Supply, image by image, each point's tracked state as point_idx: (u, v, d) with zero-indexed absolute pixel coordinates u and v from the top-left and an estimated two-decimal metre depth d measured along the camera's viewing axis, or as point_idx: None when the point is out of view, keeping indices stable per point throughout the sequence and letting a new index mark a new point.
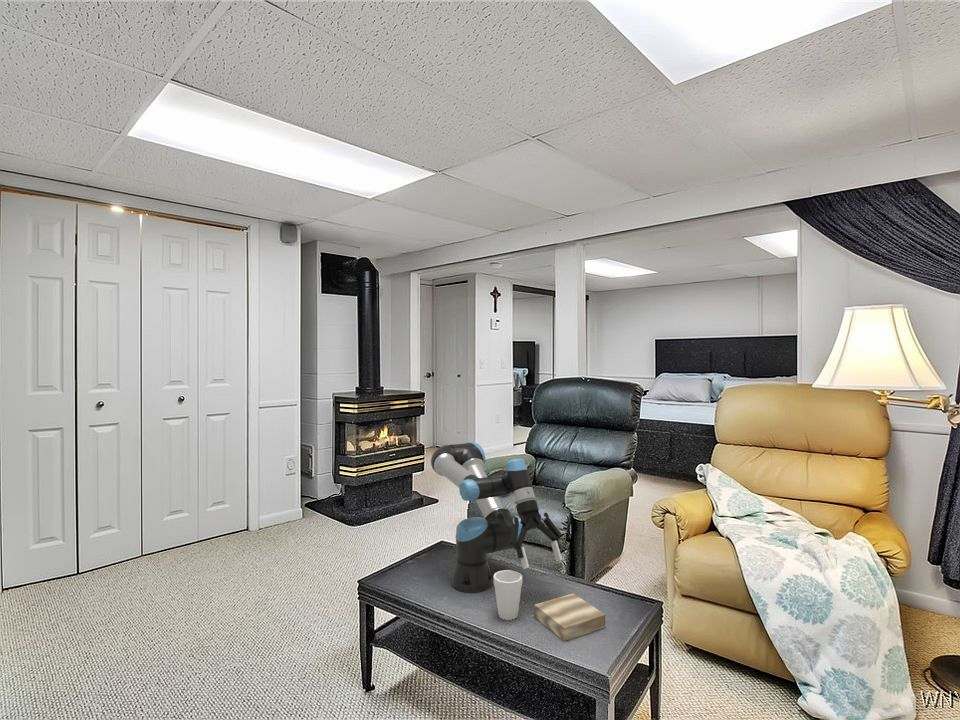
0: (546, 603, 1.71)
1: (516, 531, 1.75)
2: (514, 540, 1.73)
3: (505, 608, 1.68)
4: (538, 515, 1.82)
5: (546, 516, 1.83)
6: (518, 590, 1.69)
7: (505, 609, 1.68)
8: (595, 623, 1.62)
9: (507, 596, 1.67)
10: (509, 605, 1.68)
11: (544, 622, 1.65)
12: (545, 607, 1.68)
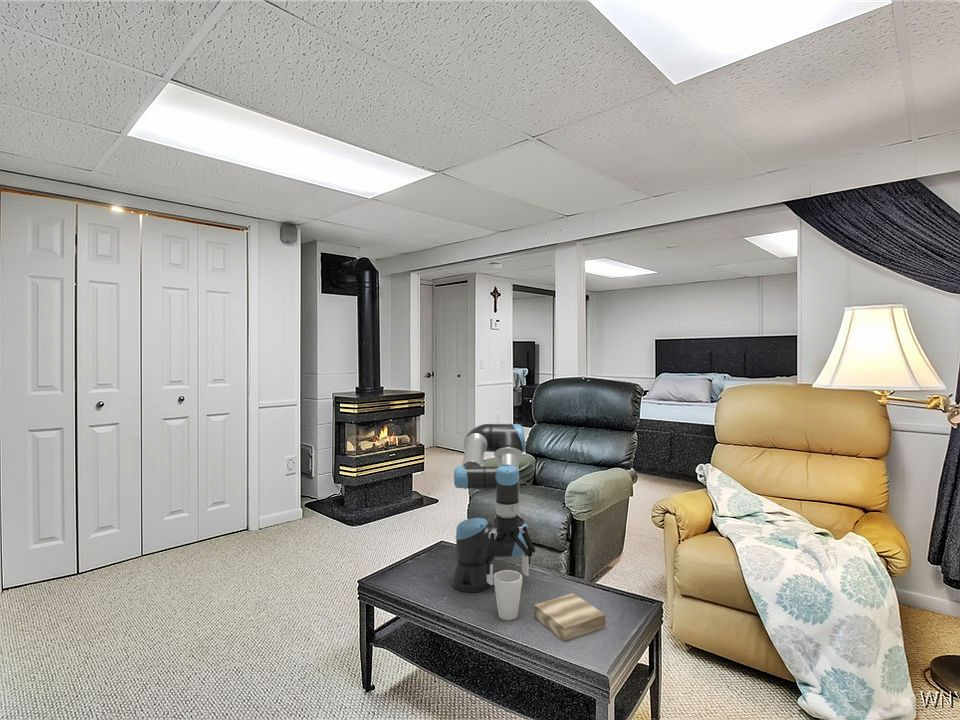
0: (546, 603, 1.71)
1: (489, 548, 1.66)
2: (484, 558, 1.65)
3: (505, 608, 1.68)
4: (517, 530, 1.71)
5: (525, 531, 1.72)
6: (518, 590, 1.69)
7: (505, 609, 1.68)
8: (595, 623, 1.62)
9: (507, 596, 1.67)
10: (509, 605, 1.68)
11: (544, 622, 1.65)
12: (545, 607, 1.68)
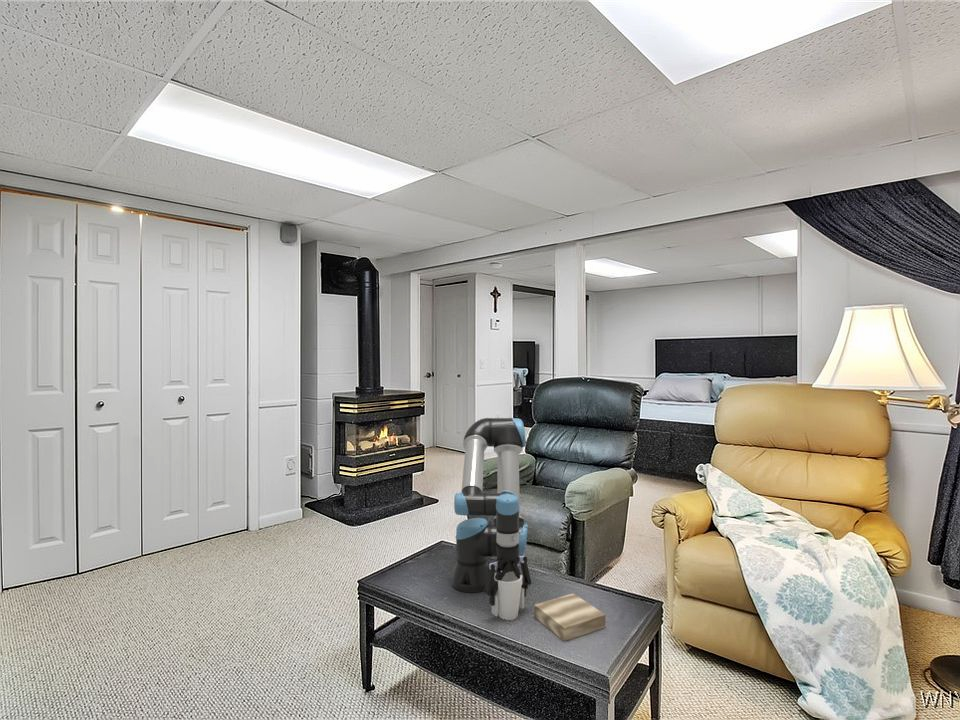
0: (546, 603, 1.71)
1: (491, 580, 1.67)
2: (489, 590, 1.67)
3: (505, 608, 1.68)
4: (517, 558, 1.71)
5: (525, 561, 1.73)
6: (518, 590, 1.68)
7: (505, 609, 1.68)
8: (595, 623, 1.62)
9: (507, 596, 1.67)
10: (509, 605, 1.68)
11: (544, 622, 1.65)
12: (545, 607, 1.68)
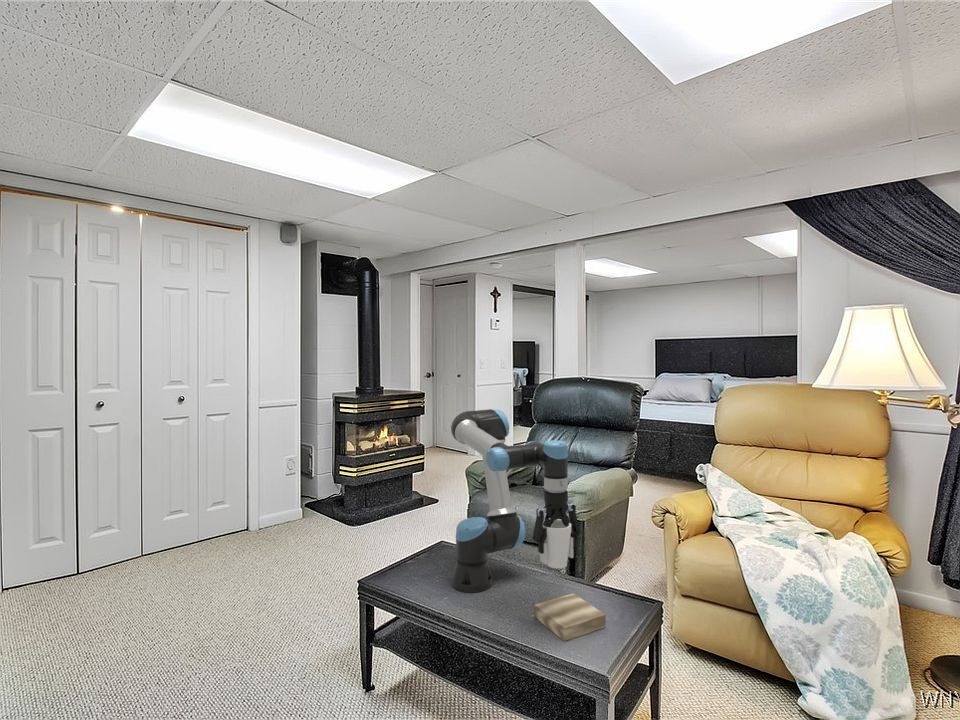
0: (546, 603, 1.71)
1: (540, 526, 1.62)
2: (538, 536, 1.62)
3: (554, 556, 1.63)
4: (566, 506, 1.67)
5: (573, 509, 1.68)
6: (567, 537, 1.64)
7: (554, 557, 1.63)
8: (595, 623, 1.62)
9: (556, 543, 1.63)
10: (558, 552, 1.63)
11: (544, 622, 1.65)
12: (545, 607, 1.68)
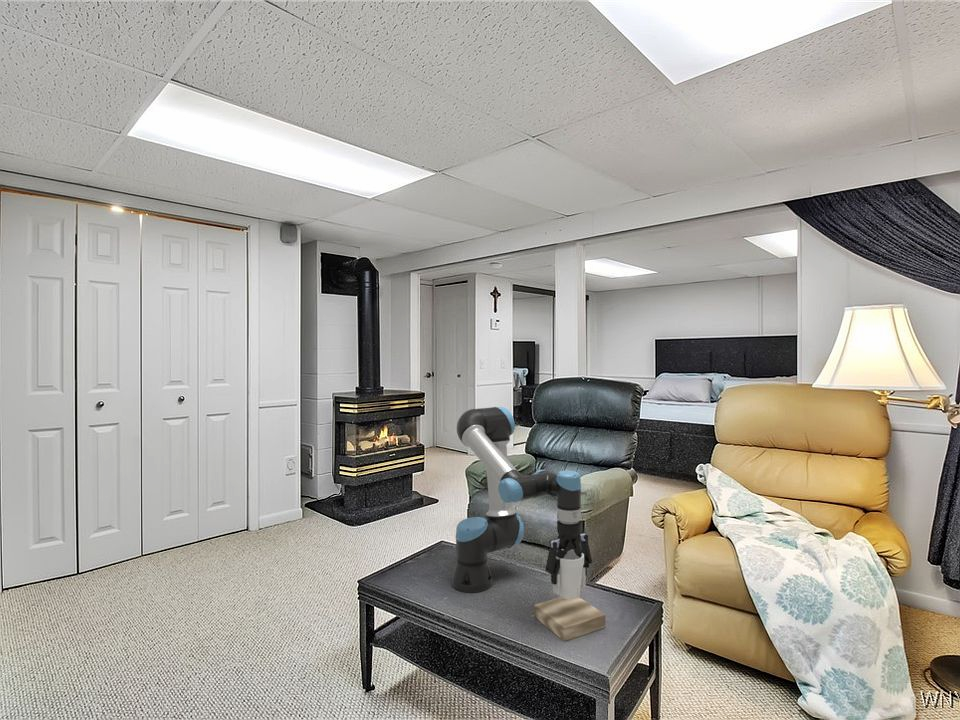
0: (546, 603, 1.71)
1: (554, 558, 1.62)
2: (551, 568, 1.62)
3: (568, 587, 1.63)
4: (578, 536, 1.67)
5: (586, 539, 1.68)
6: (581, 568, 1.64)
7: (568, 588, 1.63)
8: (595, 623, 1.62)
9: (569, 575, 1.62)
10: (572, 584, 1.63)
11: (544, 622, 1.65)
12: (545, 607, 1.68)
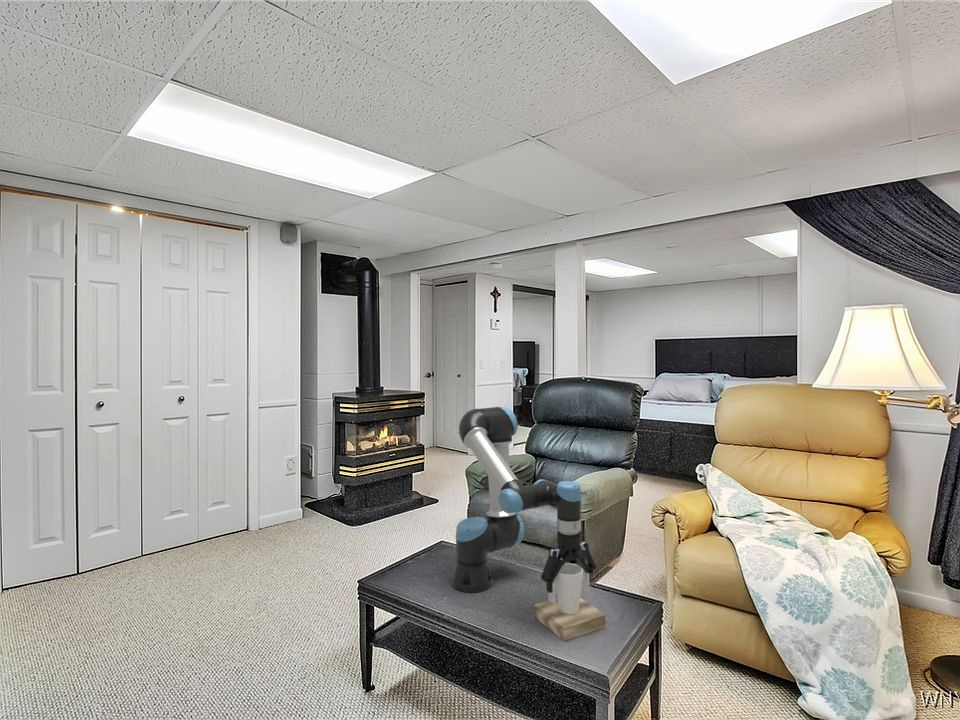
0: (546, 603, 1.71)
1: (552, 566, 1.62)
2: (547, 576, 1.61)
3: (567, 602, 1.64)
4: (578, 547, 1.67)
5: (586, 547, 1.68)
6: (580, 583, 1.64)
7: (567, 603, 1.64)
8: (595, 623, 1.62)
9: (569, 589, 1.63)
10: (571, 598, 1.63)
11: (544, 622, 1.65)
12: (545, 607, 1.68)
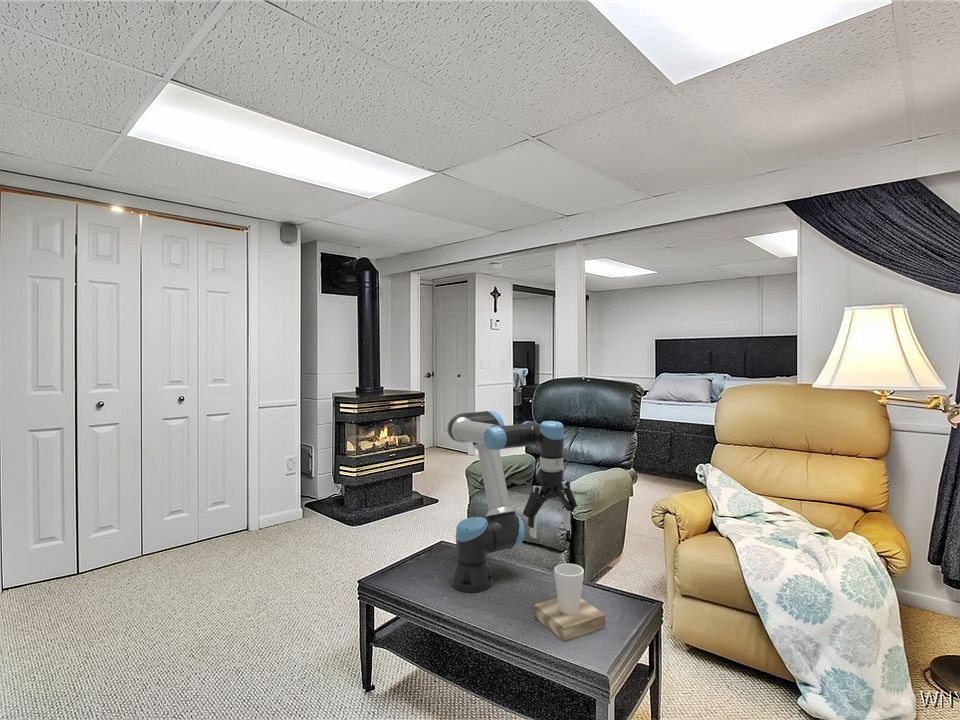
0: (546, 603, 1.71)
1: (533, 502, 1.66)
2: (529, 511, 1.65)
3: (567, 602, 1.64)
4: (560, 485, 1.71)
5: (567, 486, 1.72)
6: (580, 584, 1.64)
7: (567, 604, 1.64)
8: (595, 623, 1.62)
9: (569, 590, 1.63)
10: (571, 599, 1.63)
11: (544, 622, 1.65)
12: (545, 607, 1.68)
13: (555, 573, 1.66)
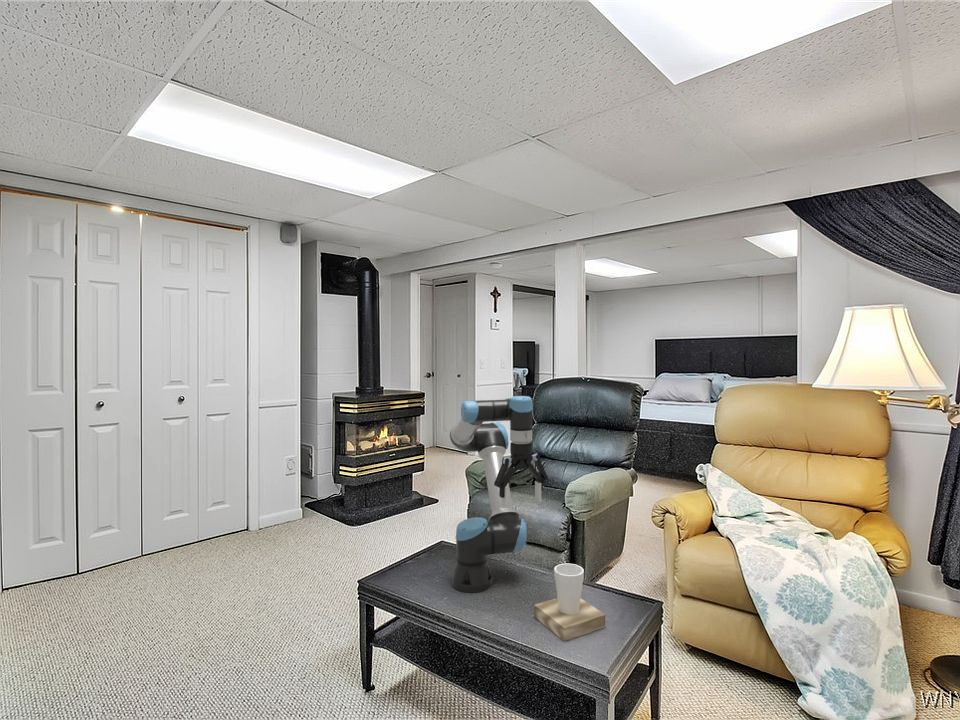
0: (546, 603, 1.71)
1: (504, 473, 1.73)
2: (499, 481, 1.72)
3: (567, 602, 1.64)
4: (530, 457, 1.78)
5: (538, 458, 1.79)
6: (580, 584, 1.64)
7: (567, 603, 1.64)
8: (595, 623, 1.62)
9: (569, 590, 1.63)
10: (571, 599, 1.63)
11: (544, 622, 1.65)
12: (545, 607, 1.68)
13: (555, 573, 1.66)
